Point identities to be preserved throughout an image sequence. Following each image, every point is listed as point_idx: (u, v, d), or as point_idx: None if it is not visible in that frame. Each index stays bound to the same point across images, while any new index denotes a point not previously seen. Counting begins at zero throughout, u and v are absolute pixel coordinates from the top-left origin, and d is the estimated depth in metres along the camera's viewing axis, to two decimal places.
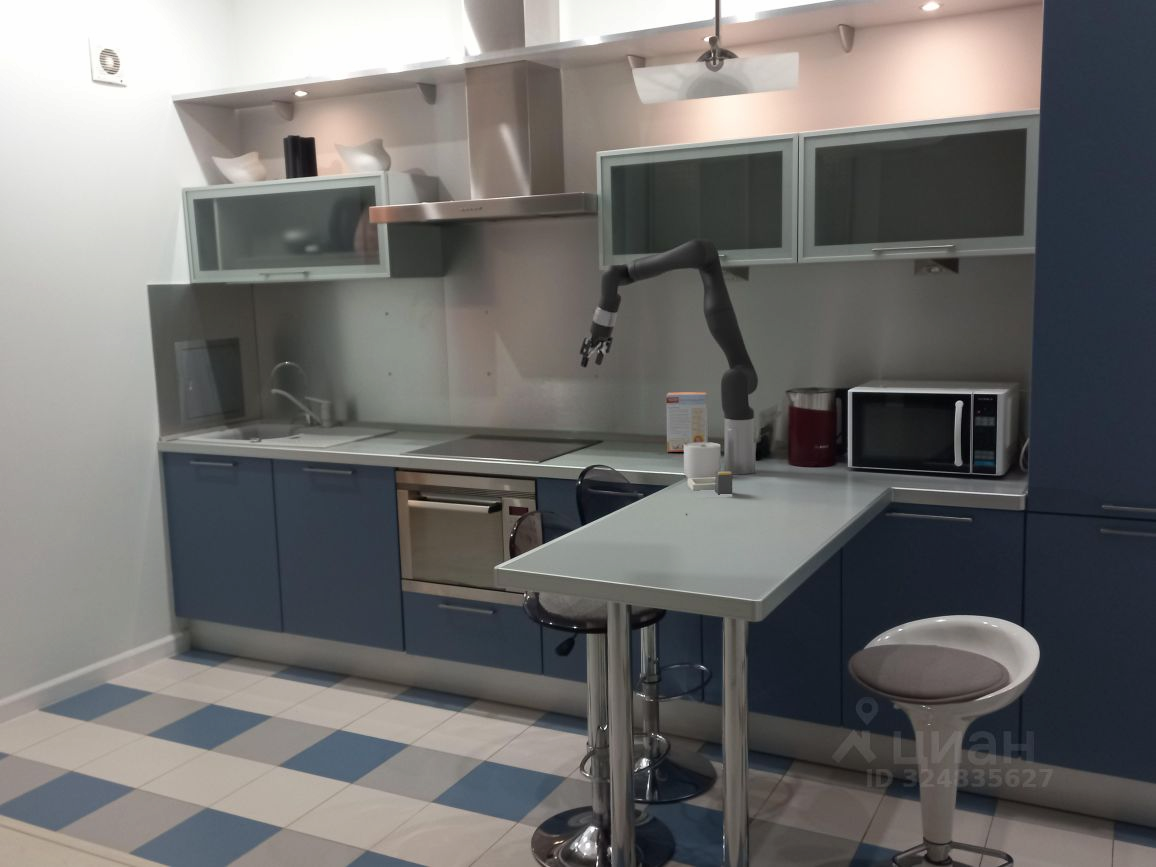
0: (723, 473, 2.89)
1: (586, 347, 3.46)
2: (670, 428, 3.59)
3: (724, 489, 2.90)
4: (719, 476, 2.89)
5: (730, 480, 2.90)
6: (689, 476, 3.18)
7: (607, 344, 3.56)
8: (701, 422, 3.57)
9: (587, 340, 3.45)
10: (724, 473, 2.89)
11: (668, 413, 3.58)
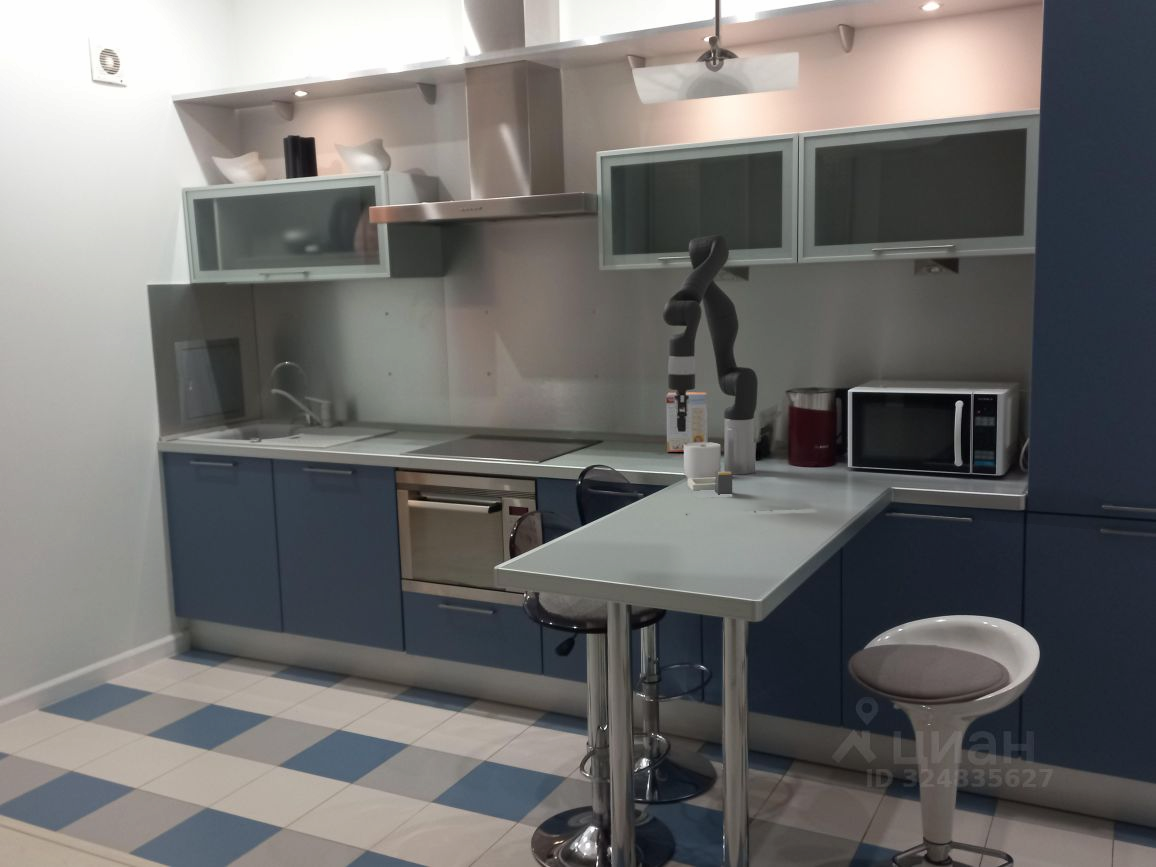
0: (723, 473, 2.89)
1: (684, 405, 2.83)
2: (670, 428, 3.59)
3: (724, 489, 2.90)
4: (719, 476, 2.89)
5: (730, 480, 2.90)
6: (689, 476, 3.18)
7: None
8: (701, 422, 3.57)
9: (683, 396, 2.83)
10: (724, 473, 2.89)
11: (668, 413, 3.58)
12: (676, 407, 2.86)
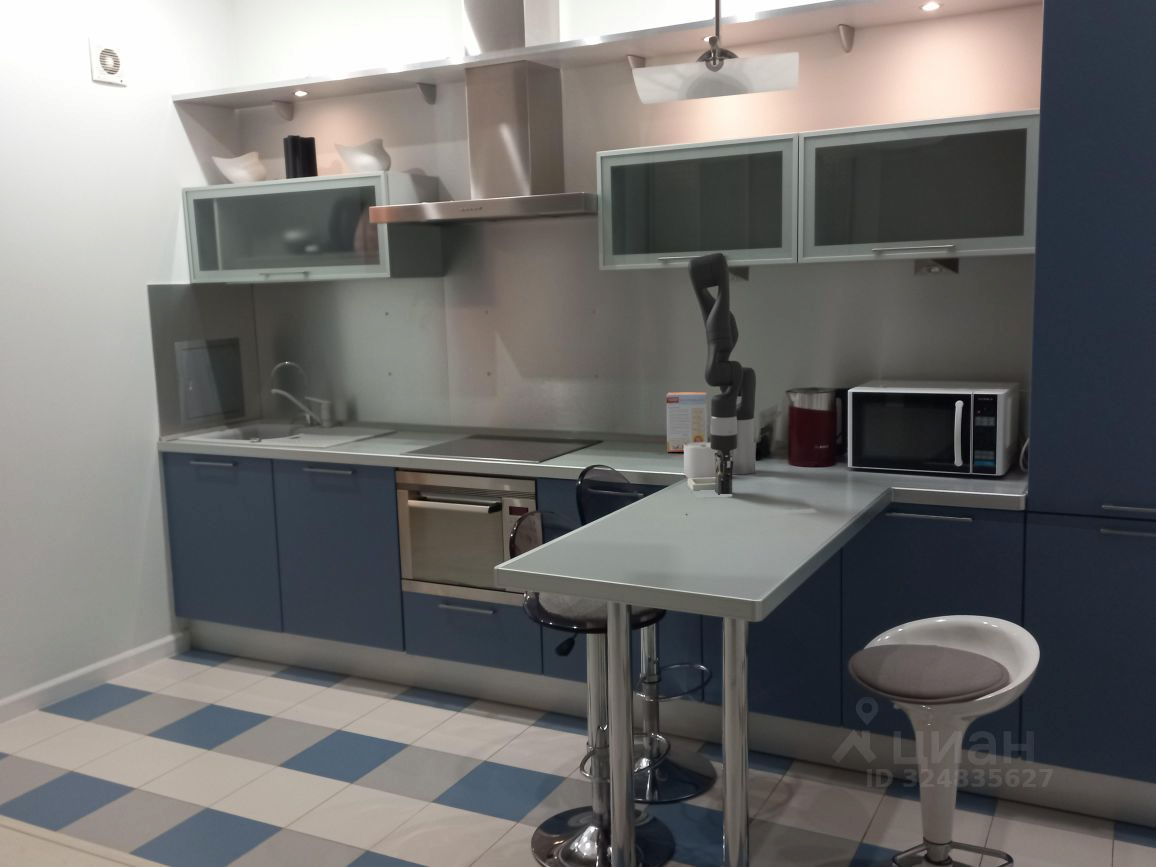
0: None
1: (730, 470, 2.85)
2: (670, 428, 3.59)
3: None
4: (719, 476, 2.89)
5: (730, 480, 2.90)
6: (689, 476, 3.18)
7: None
8: (701, 422, 3.57)
9: (729, 463, 2.84)
10: None
11: (668, 413, 3.58)
12: (720, 470, 2.88)
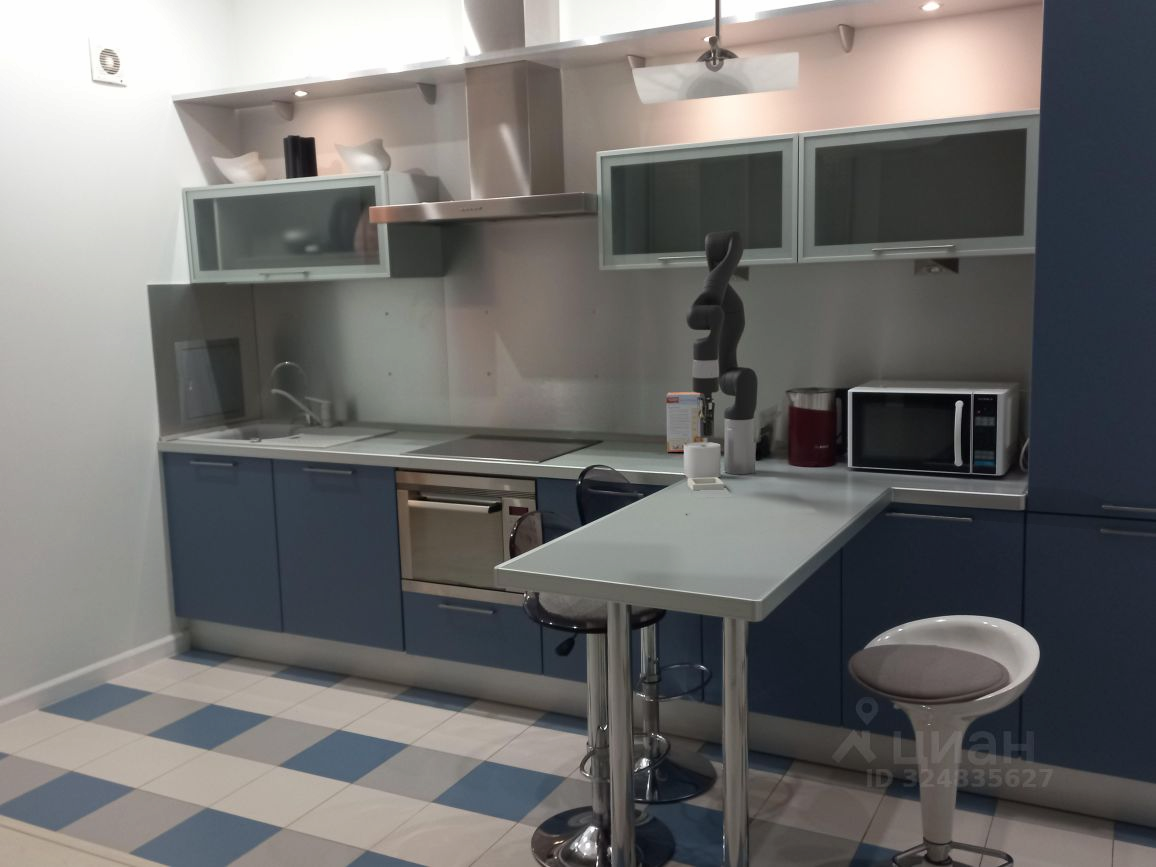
0: None
1: (712, 412, 2.91)
2: (670, 428, 3.59)
3: None
4: (701, 418, 2.95)
5: (712, 422, 2.96)
6: (689, 476, 3.18)
7: None
8: None
9: (711, 405, 2.90)
10: None
11: (668, 413, 3.58)
12: (702, 412, 2.94)
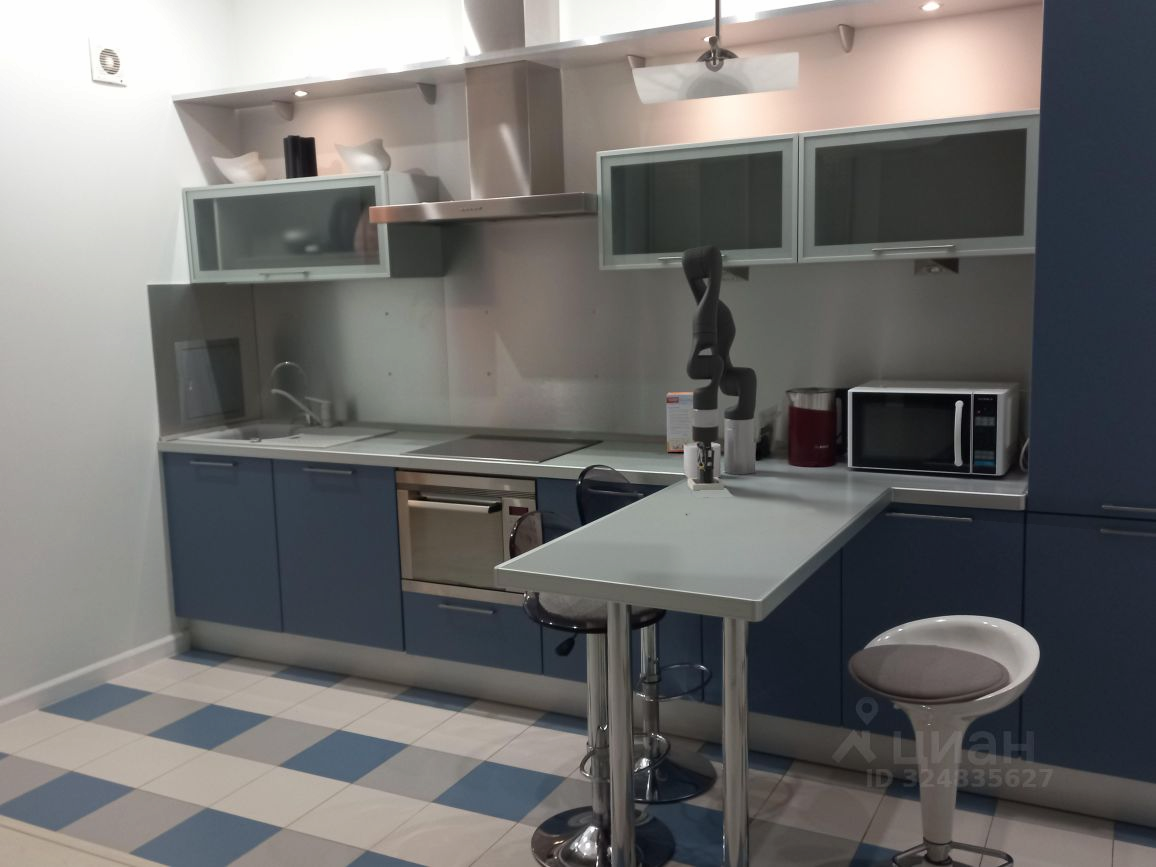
0: None
1: (712, 460, 2.93)
2: (670, 428, 3.59)
3: None
4: (700, 470, 2.98)
5: None
6: (689, 476, 3.18)
7: None
8: None
9: (710, 452, 2.92)
10: None
11: (668, 413, 3.58)
12: (702, 460, 2.96)
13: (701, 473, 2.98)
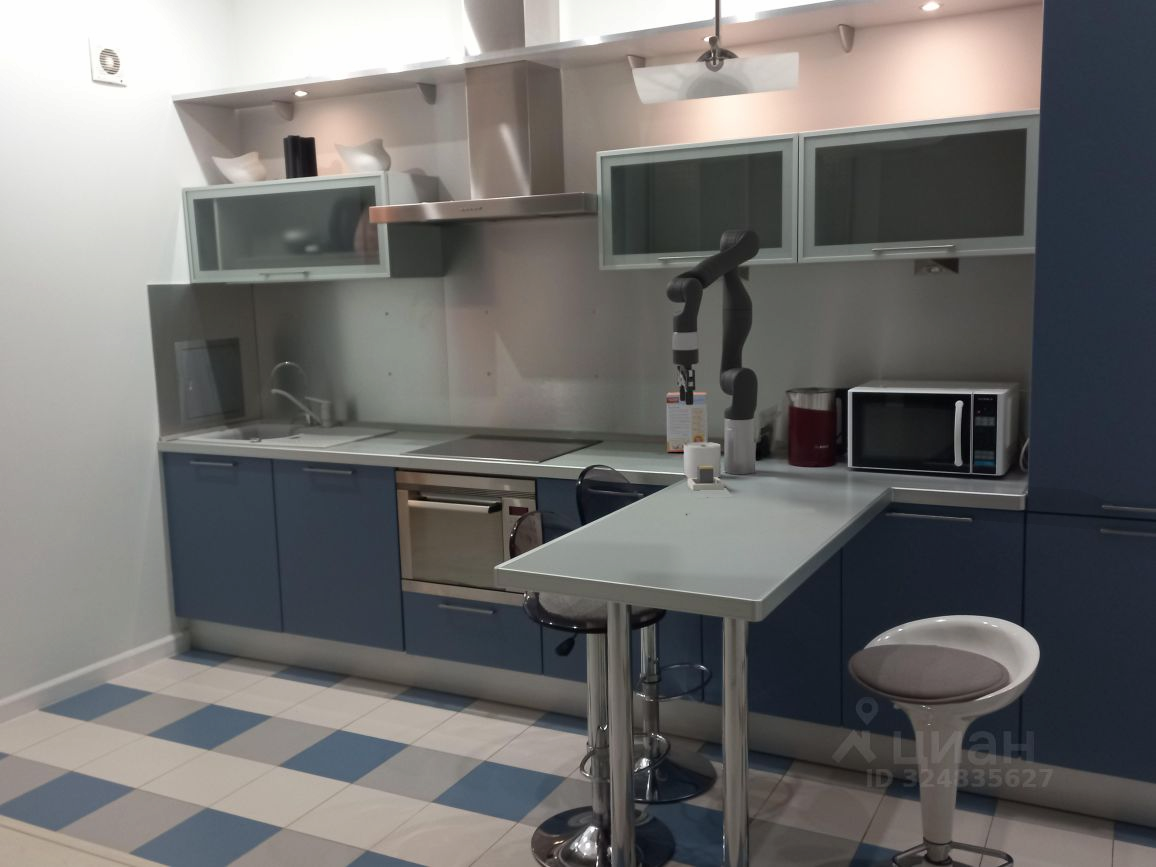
0: (704, 467, 2.98)
1: (693, 379, 2.94)
2: (670, 428, 3.59)
3: (706, 483, 2.98)
4: (700, 470, 2.98)
5: (711, 474, 2.98)
6: (689, 476, 3.18)
7: None
8: (701, 422, 3.57)
9: (691, 371, 2.94)
10: (705, 467, 2.98)
11: (668, 413, 3.58)
12: (683, 381, 2.97)
13: (701, 473, 2.98)
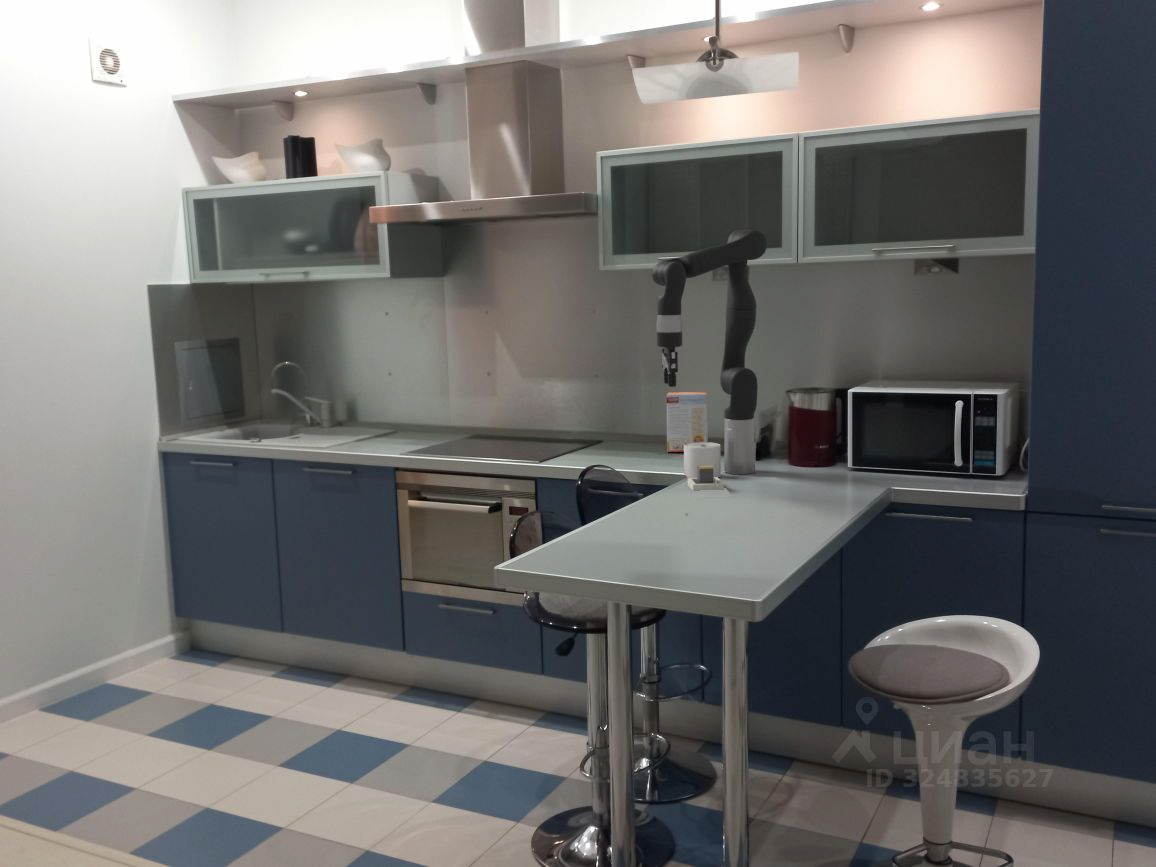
0: (704, 467, 2.98)
1: (675, 361, 2.98)
2: (670, 428, 3.59)
3: (706, 483, 2.98)
4: (700, 470, 2.98)
5: (711, 474, 2.98)
6: (689, 476, 3.18)
7: None
8: (701, 422, 3.57)
9: (673, 353, 2.98)
10: (705, 467, 2.98)
11: (668, 413, 3.58)
12: (666, 363, 3.01)
13: (701, 473, 2.98)
